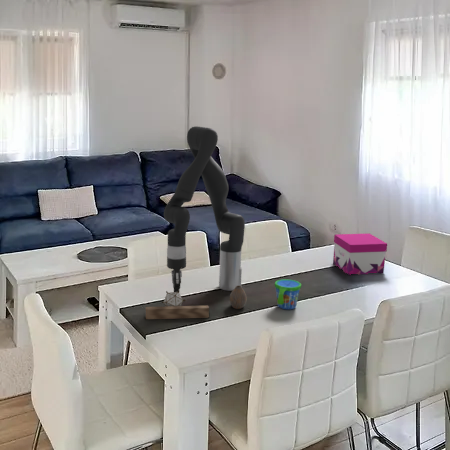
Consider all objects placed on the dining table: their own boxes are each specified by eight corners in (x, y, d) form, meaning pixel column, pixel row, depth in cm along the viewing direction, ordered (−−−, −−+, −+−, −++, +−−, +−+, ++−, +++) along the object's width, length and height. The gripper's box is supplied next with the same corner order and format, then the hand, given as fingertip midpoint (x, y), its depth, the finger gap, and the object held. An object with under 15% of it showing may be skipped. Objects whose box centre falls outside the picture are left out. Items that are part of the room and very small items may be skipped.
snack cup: (284, 298, 260) (285, 275, 257) (306, 304, 254) (308, 280, 252) (265, 309, 247) (267, 285, 244) (289, 315, 241) (290, 291, 239)
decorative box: (332, 263, 310) (334, 234, 306) (366, 261, 314) (369, 233, 311) (347, 275, 292) (350, 244, 289) (384, 273, 297) (387, 243, 293)
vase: (228, 303, 252) (229, 283, 250) (245, 303, 252) (246, 283, 250) (230, 310, 245) (230, 289, 243) (247, 310, 246) (248, 289, 243)
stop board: (207, 315, 239) (208, 305, 238) (208, 317, 237) (208, 307, 236) (145, 316, 236) (145, 306, 235) (145, 319, 234) (145, 309, 233)
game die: (176, 321, 242) (181, 308, 235) (156, 311, 243) (160, 298, 235) (185, 303, 248) (190, 290, 240) (166, 294, 248) (170, 281, 241)
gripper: (187, 260, 236) (187, 302, 241) (184, 250, 249) (184, 290, 253) (167, 261, 235) (167, 303, 240) (166, 250, 248) (166, 291, 252)
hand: (176, 296), depth 247 cm, fingers closed
